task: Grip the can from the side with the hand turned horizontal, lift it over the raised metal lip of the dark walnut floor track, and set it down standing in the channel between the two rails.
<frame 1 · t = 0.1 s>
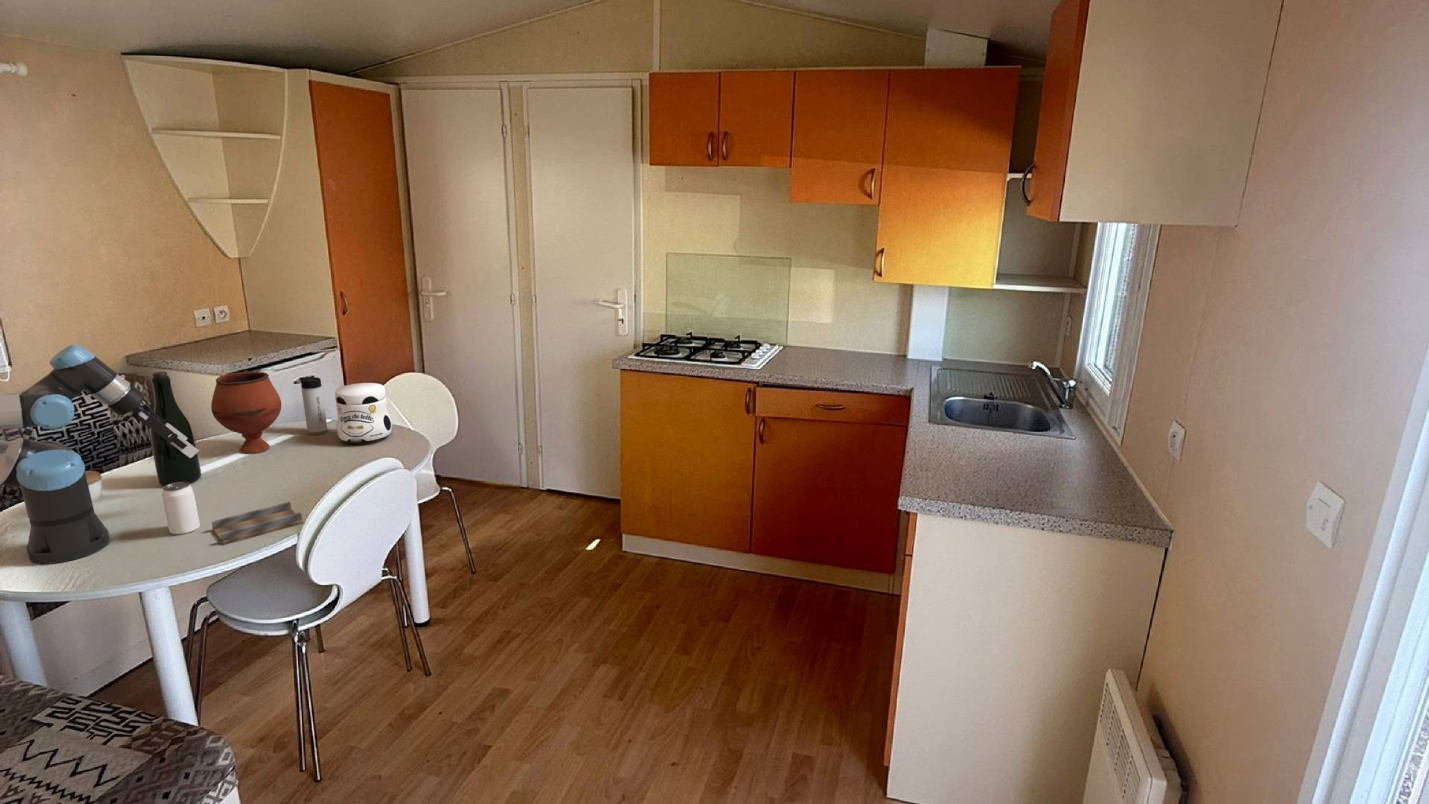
hand: (189, 447, 205), 15 cm above the table, tool tilted 35°, fingers open, 13 cm apart
milk container: (366, 439, 259), on the table
can: (185, 530, 191), on the table
goblet: (254, 450, 247), on the table
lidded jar: (81, 505, 204), on the table
dark green bottle: (180, 481, 221), on the table
track: (258, 526, 194), on the table
travel mug: (317, 432, 265), on the table
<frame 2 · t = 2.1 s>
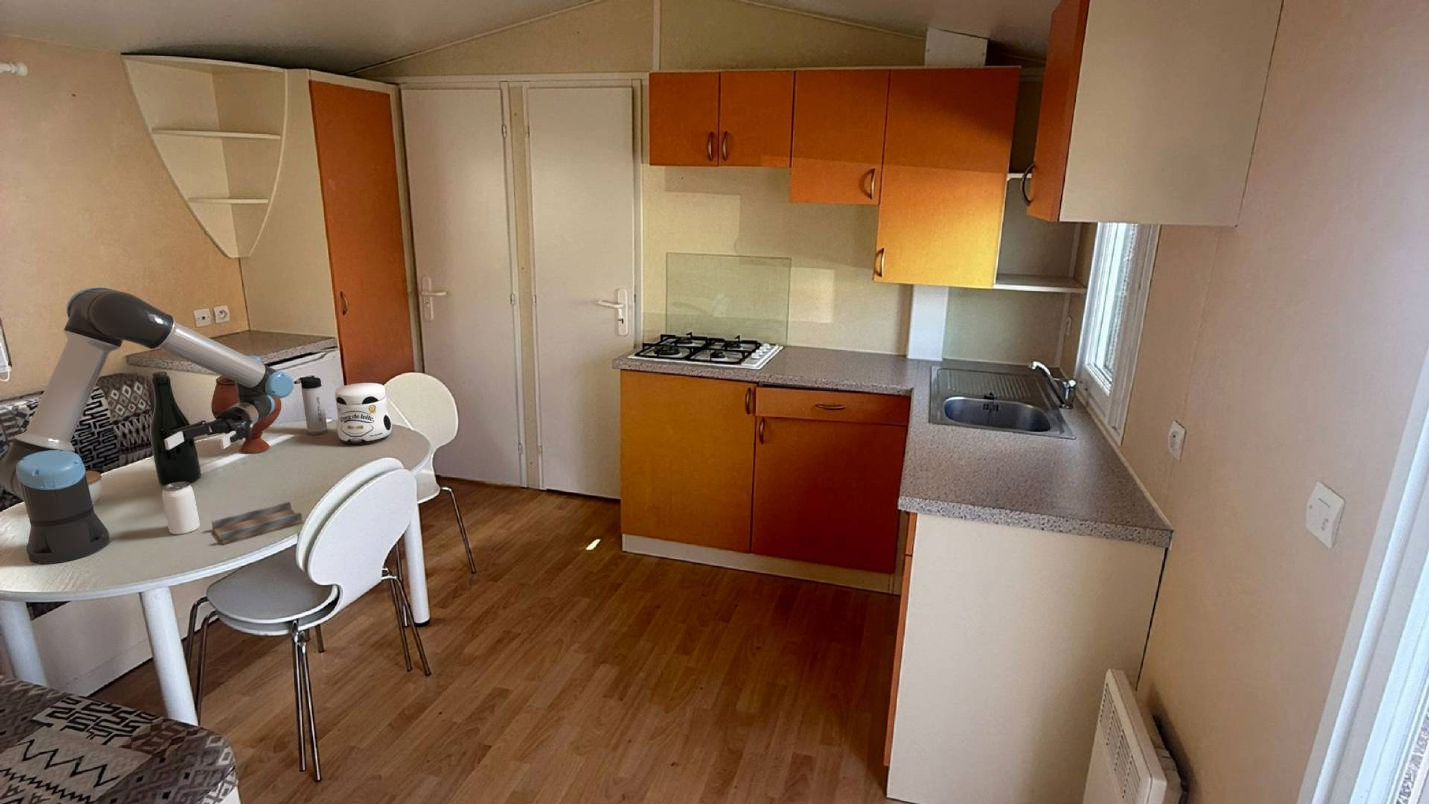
hand: (194, 444, 195), 19 cm above the table, tool horizontal, fingers open, 13 cm apart
nothing on the table moved.
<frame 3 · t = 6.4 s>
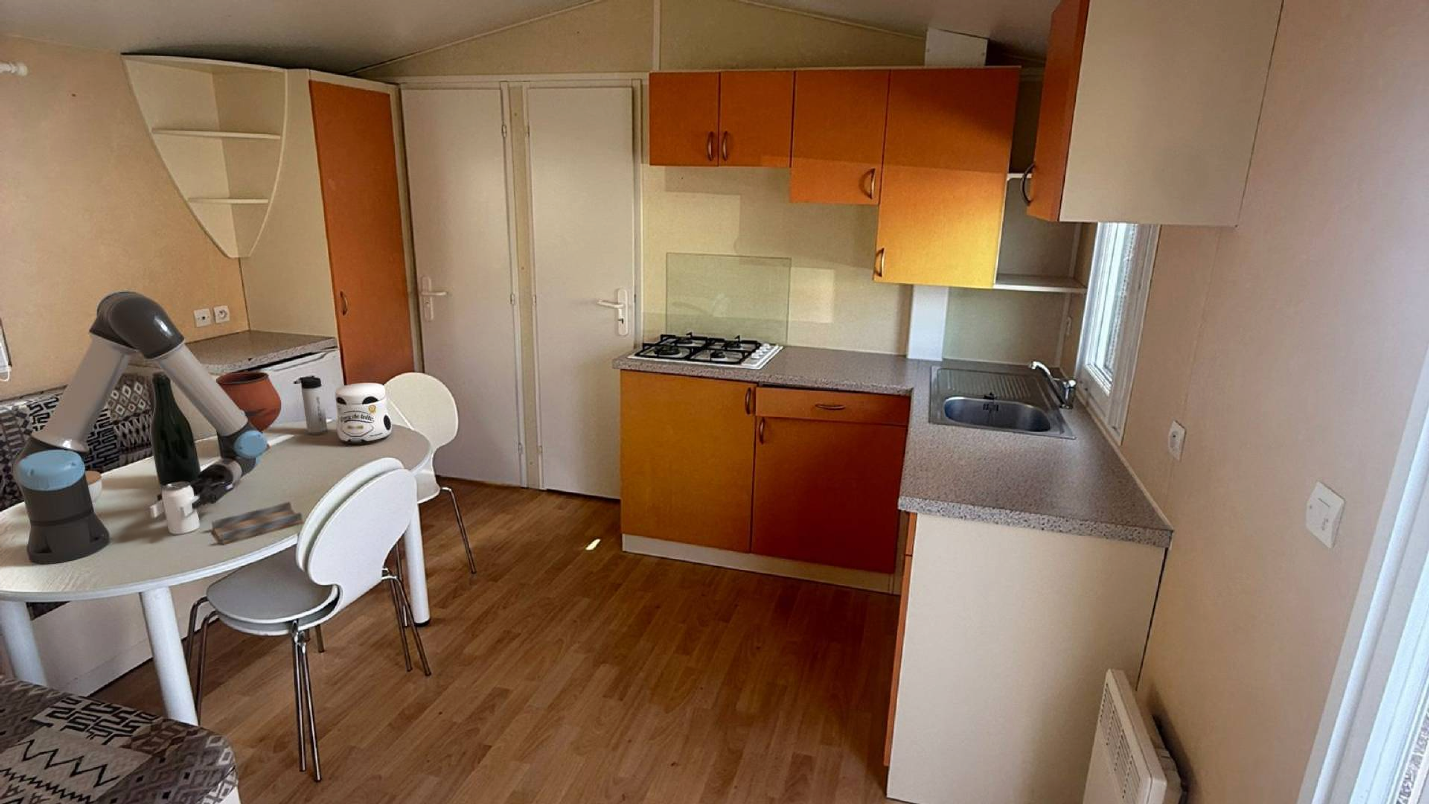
hand: (167, 512, 184), 7 cm above the table, tool horizontal, fingers closed on can, 6 cm apart
can: (185, 530, 191), on the table, touching gripper
everything else where it was.
when the fingers open (9 cm above the table, at t = 12.1 s): can drops 1 cm, resting on track.
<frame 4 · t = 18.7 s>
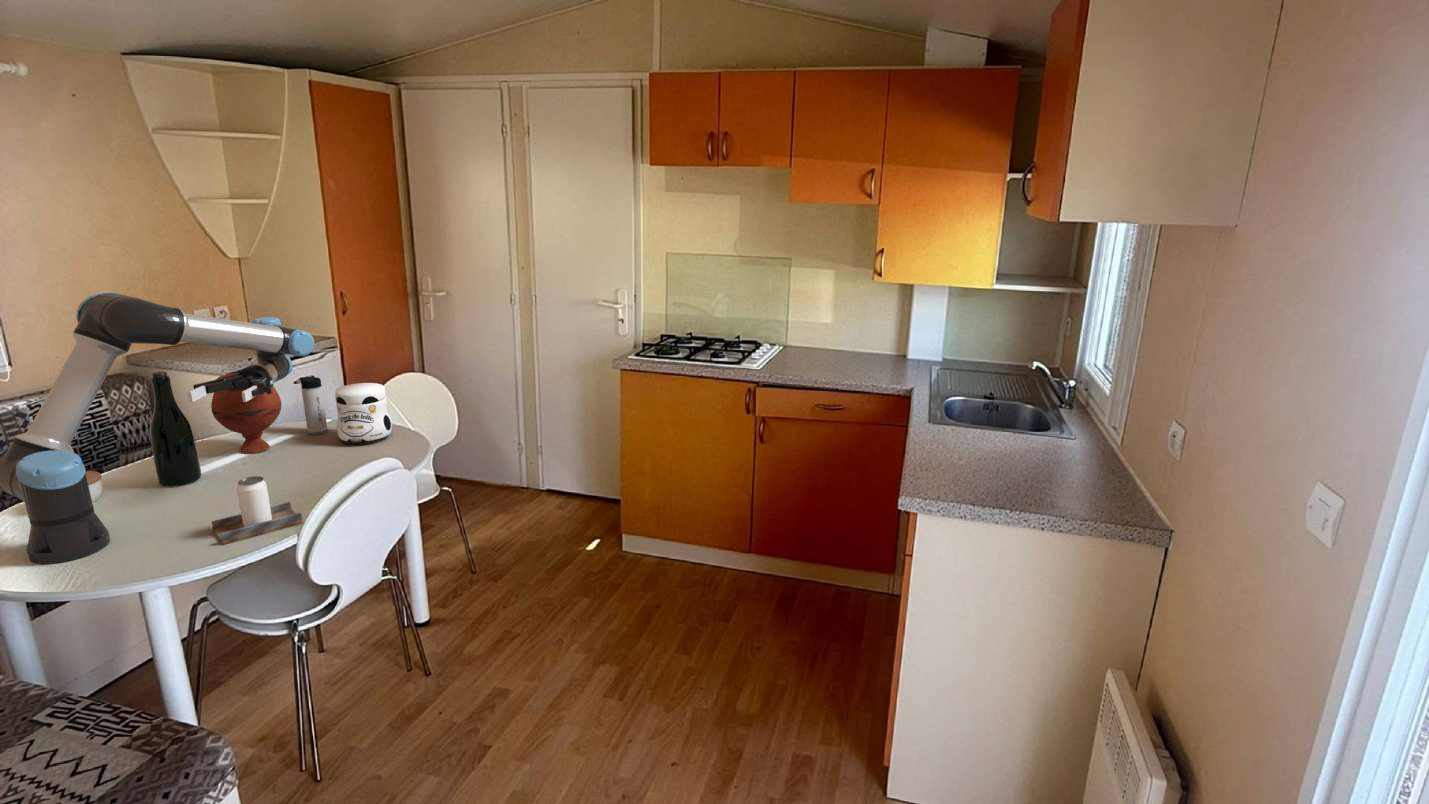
hand: (217, 397, 200), 30 cm above the table, tool horizontal, fingers open, 13 cm apart
can: (258, 524, 193), point 1 cm above the table, touching track
everything else where it was.
at the end: can inside the target area on the track (0.1 cm from its centre), point 0.6 cm above the track's base; can tilted 0°; the gripper is holding nothing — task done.
